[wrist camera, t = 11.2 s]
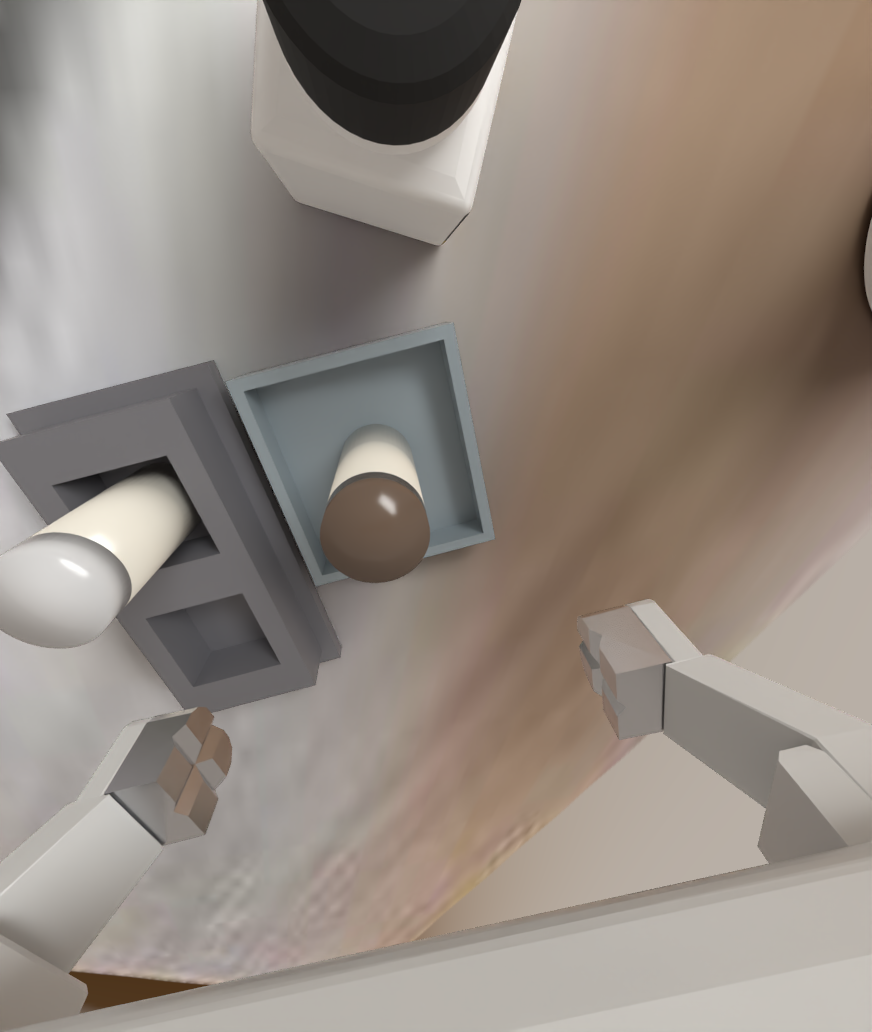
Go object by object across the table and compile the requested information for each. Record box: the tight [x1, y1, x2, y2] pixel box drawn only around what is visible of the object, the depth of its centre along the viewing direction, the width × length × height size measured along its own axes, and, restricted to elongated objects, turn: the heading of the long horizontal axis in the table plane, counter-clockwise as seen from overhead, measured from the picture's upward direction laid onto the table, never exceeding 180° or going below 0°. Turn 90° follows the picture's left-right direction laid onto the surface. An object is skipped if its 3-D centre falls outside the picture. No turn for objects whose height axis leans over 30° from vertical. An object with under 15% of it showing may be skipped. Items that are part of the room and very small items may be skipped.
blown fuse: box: [320, 424, 430, 583], centre depth 20 cm, size 4×4×10 cm
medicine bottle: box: [251, 0, 521, 245], centre depth 13 cm, size 7×7×12 cm
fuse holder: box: [0, 360, 342, 713], centre depth 24 cm, size 20×10×4 cm, turn 13°
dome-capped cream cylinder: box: [0, 463, 202, 648], centre depth 19 cm, size 4×4×10 cm
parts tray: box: [225, 322, 495, 586], centre depth 23 cm, size 11×12×2 cm
